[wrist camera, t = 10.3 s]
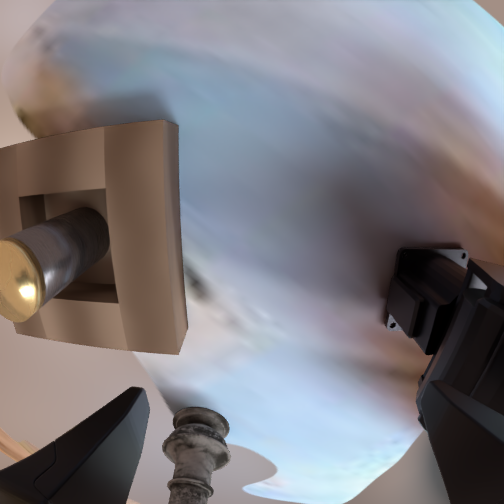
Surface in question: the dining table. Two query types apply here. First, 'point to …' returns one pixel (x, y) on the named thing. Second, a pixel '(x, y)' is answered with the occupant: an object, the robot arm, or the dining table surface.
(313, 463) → the dining table surface
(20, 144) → the holder block
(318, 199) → the dining table surface
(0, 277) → the battery cell
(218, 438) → the weathered candle holder
